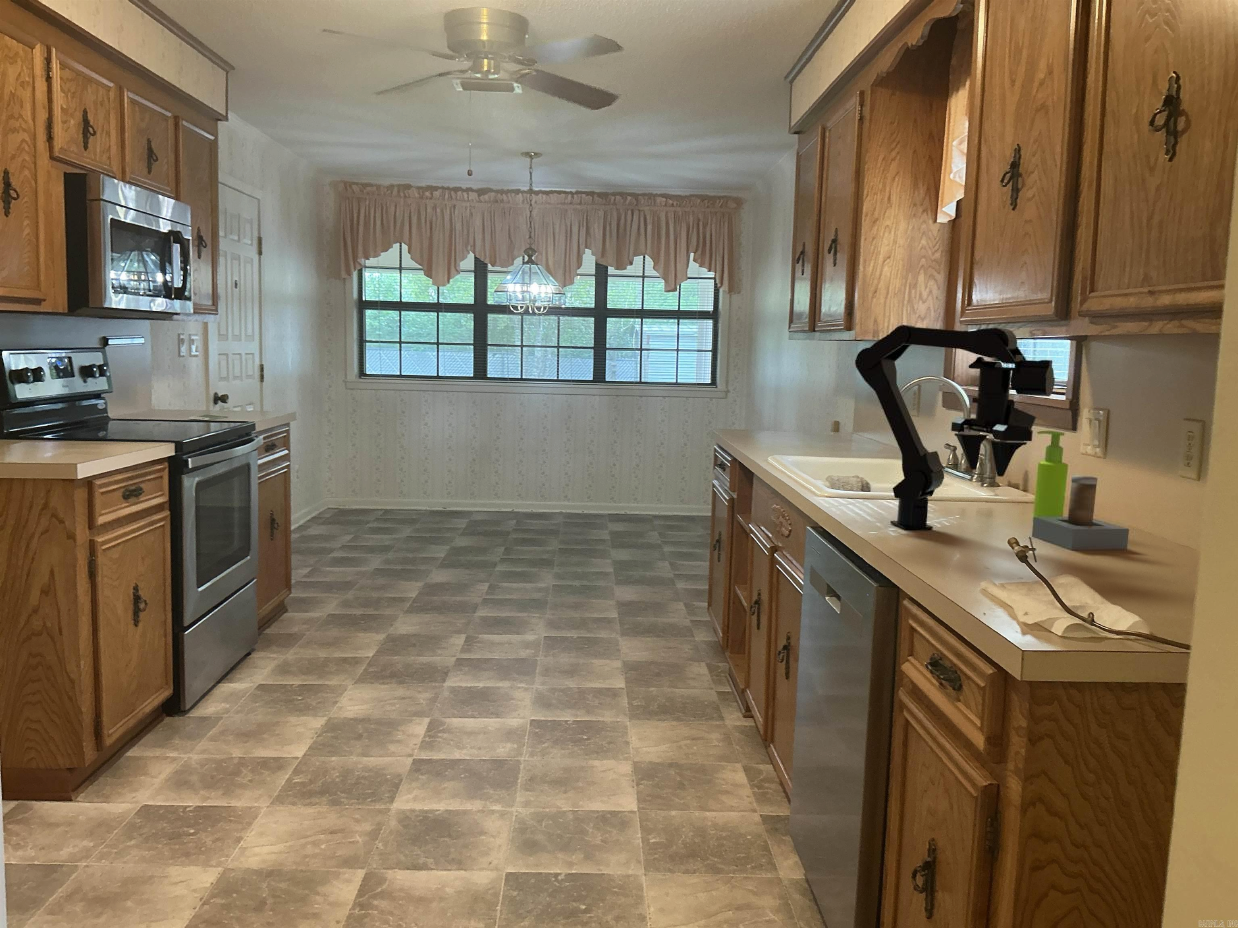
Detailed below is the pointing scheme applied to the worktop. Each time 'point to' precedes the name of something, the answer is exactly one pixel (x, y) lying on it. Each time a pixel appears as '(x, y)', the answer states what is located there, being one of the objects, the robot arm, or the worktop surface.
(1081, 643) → the worktop surface
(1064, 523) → the socket block
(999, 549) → the worktop surface
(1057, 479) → the soap dispenser
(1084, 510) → the peg
